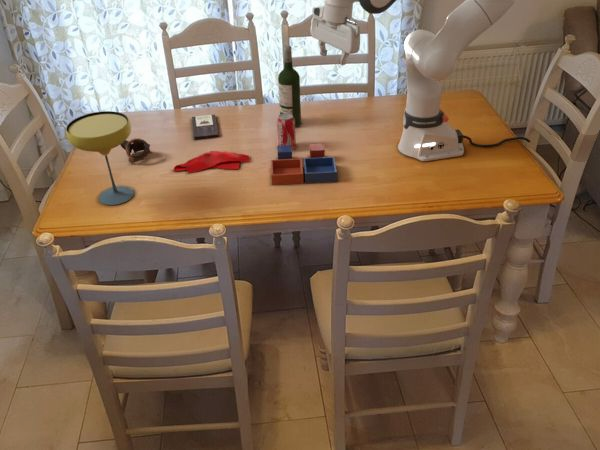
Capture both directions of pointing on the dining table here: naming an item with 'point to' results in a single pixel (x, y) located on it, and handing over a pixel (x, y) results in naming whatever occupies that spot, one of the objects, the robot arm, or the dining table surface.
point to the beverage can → (286, 130)
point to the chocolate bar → (205, 127)
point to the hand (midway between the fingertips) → (332, 59)
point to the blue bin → (320, 170)
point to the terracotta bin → (286, 171)
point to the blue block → (284, 152)
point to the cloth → (213, 161)
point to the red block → (317, 150)
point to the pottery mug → (136, 149)
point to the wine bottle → (289, 88)
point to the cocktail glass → (102, 144)
